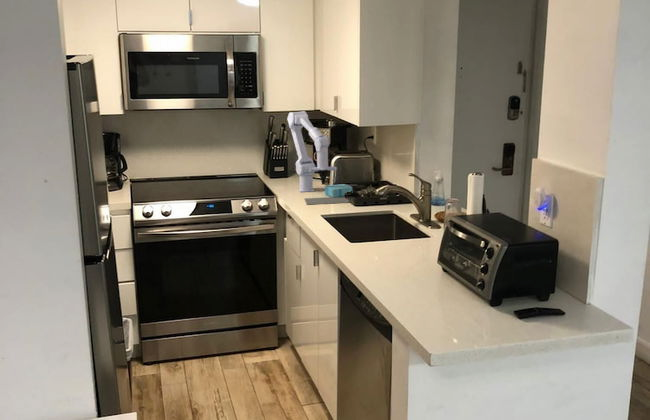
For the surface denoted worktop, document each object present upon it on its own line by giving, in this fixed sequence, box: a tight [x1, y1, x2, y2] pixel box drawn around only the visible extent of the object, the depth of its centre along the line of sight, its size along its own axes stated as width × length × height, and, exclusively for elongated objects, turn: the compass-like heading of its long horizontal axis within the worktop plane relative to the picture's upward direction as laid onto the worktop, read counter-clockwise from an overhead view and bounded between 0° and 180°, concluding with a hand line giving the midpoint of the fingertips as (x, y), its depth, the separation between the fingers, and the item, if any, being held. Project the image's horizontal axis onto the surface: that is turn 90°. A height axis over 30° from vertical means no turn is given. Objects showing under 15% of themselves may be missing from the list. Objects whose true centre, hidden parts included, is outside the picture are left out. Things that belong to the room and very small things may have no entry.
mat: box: [304, 196, 351, 206], centre depth 347 cm, size 14×22×1 cm, turn 97°
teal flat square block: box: [324, 183, 353, 197], centre depth 360 cm, size 12×4×12 cm
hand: (323, 184), depth 360 cm, fingers closed
